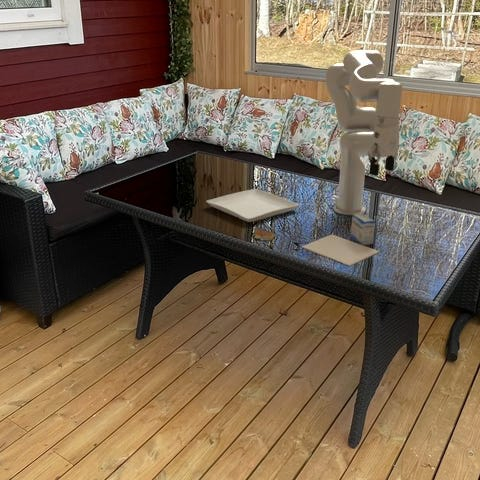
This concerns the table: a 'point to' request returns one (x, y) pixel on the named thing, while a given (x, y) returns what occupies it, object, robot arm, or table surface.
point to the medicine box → (362, 229)
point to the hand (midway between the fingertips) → (381, 172)
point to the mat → (340, 250)
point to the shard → (263, 234)
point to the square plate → (252, 204)
